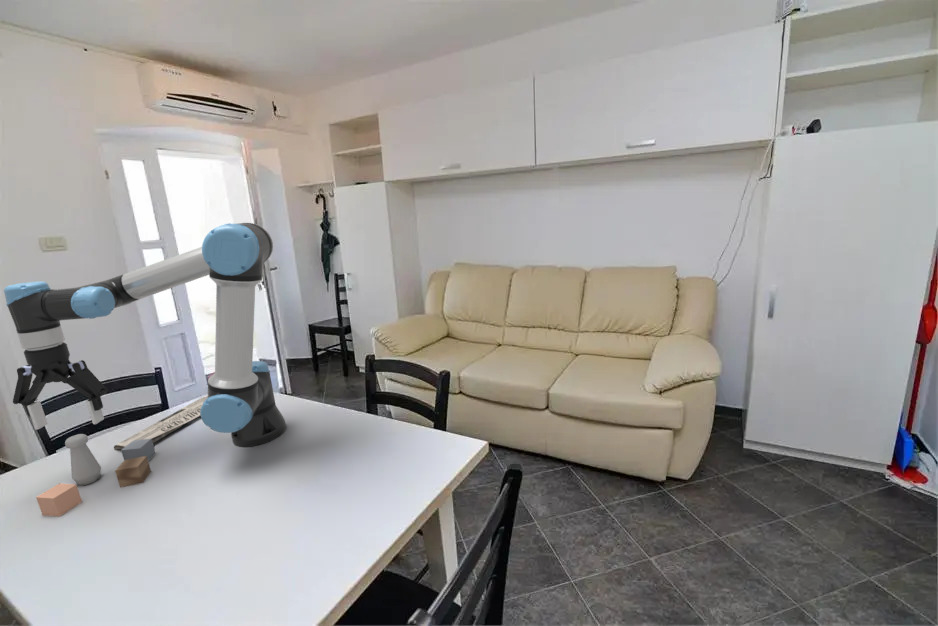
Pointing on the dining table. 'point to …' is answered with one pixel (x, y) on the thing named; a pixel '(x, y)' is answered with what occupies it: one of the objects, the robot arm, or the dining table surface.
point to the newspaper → (167, 424)
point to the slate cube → (139, 449)
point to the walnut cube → (133, 471)
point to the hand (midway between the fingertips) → (70, 424)
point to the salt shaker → (82, 460)
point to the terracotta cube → (59, 499)
